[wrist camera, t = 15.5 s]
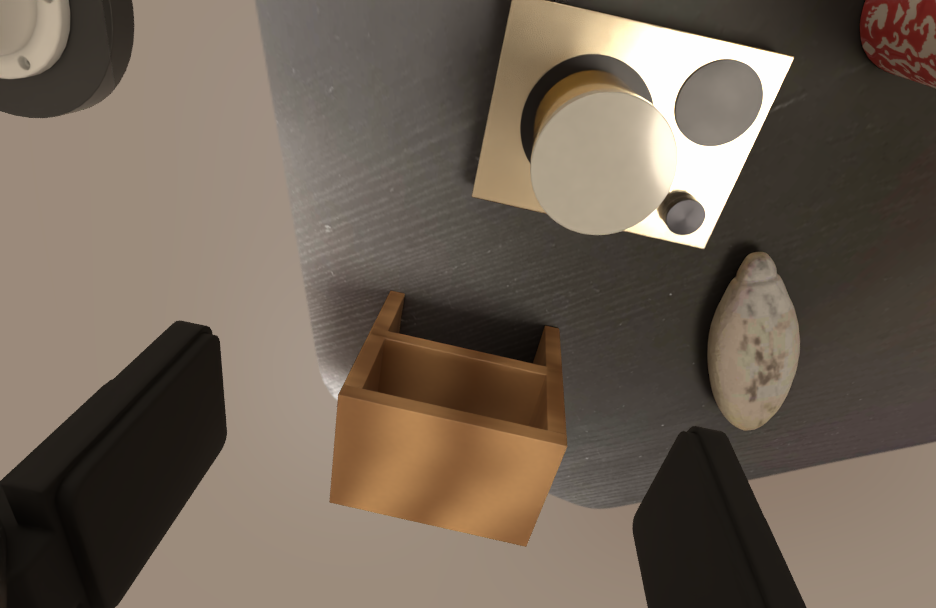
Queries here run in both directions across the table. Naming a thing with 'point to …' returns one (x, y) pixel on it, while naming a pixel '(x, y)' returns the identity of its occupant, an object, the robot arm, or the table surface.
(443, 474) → the shelf
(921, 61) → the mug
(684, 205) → the hob
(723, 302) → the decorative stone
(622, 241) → the table surface
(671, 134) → the jar
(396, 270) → the table surface
